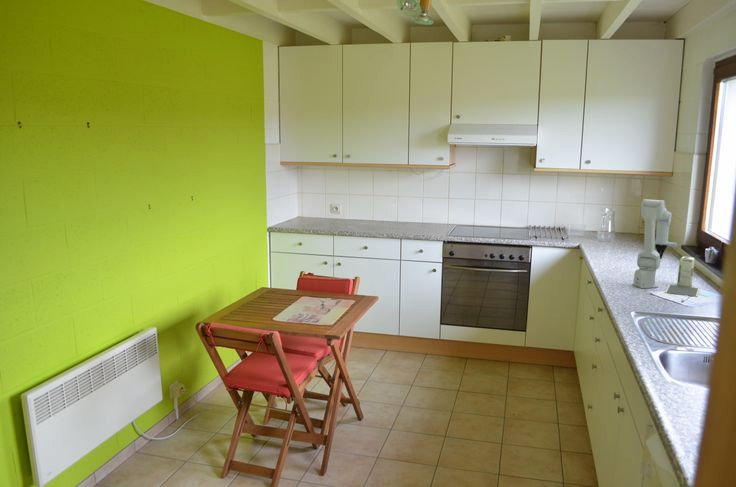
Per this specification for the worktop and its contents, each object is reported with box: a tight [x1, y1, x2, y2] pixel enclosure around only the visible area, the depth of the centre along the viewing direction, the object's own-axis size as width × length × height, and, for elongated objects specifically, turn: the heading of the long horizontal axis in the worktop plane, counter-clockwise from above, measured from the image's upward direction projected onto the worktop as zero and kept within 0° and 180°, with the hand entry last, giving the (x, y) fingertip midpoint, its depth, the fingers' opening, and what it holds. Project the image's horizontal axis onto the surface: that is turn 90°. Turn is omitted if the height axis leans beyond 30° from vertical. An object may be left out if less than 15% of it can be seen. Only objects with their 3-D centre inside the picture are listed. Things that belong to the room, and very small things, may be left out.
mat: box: [664, 284, 701, 298], centre depth 289 cm, size 18×14×1 cm
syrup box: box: [676, 256, 696, 287], centre depth 298 cm, size 6×6×14 cm
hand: (660, 258), depth 313 cm, fingers closed
